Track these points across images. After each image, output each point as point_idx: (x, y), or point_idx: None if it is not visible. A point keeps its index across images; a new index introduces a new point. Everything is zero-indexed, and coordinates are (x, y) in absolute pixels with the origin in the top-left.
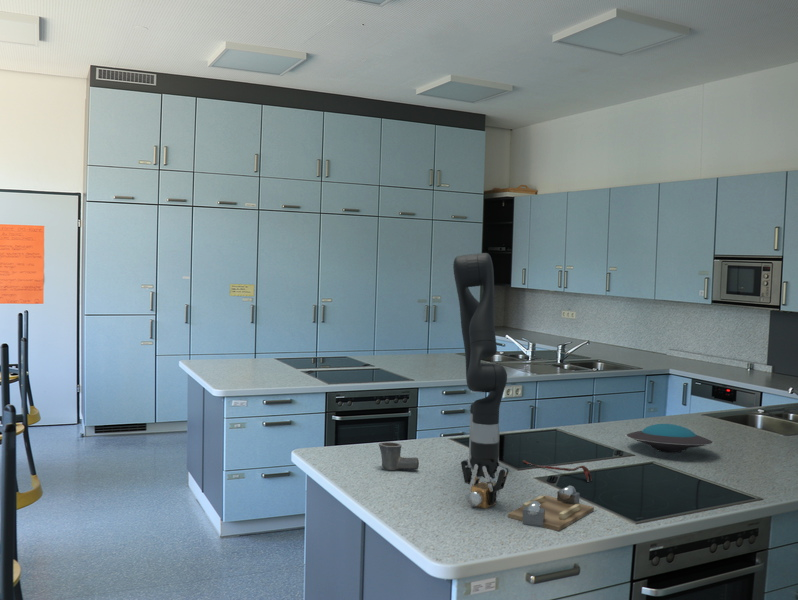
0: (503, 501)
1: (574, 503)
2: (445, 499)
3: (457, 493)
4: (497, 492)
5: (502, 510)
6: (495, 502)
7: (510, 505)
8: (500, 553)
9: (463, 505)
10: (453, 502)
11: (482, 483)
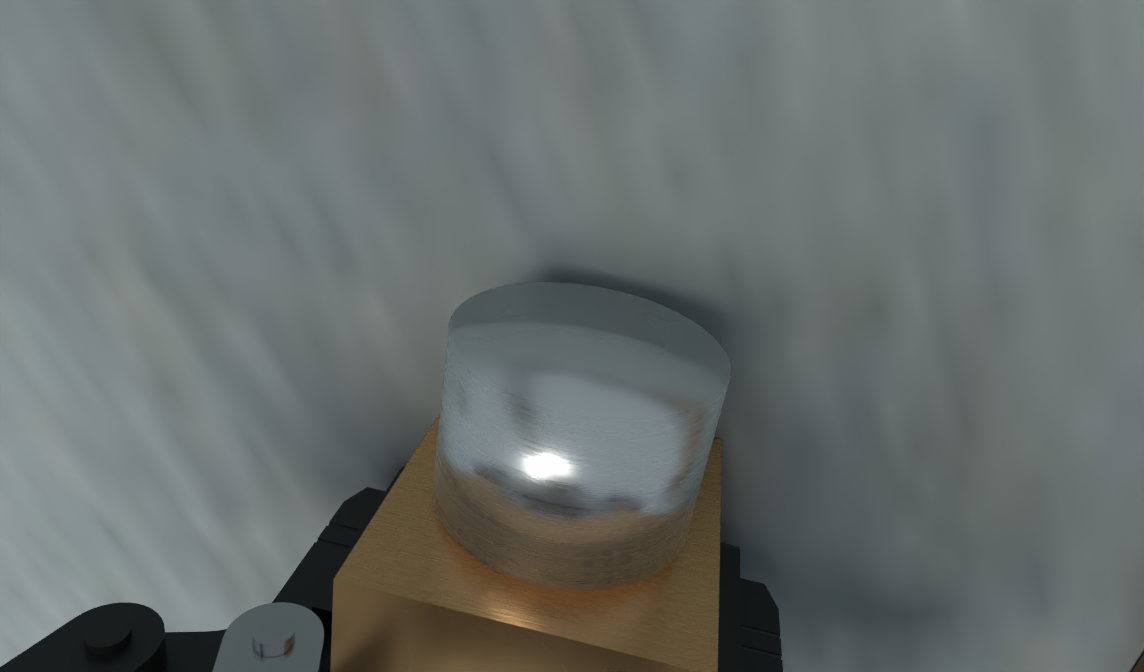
0: (804, 251)
1: None
2: (95, 556)
3: (25, 264)
4: (713, 431)
5: (906, 631)
6: (763, 587)
7: (979, 387)
8: None
9: None
10: (229, 609)
11: (398, 658)
